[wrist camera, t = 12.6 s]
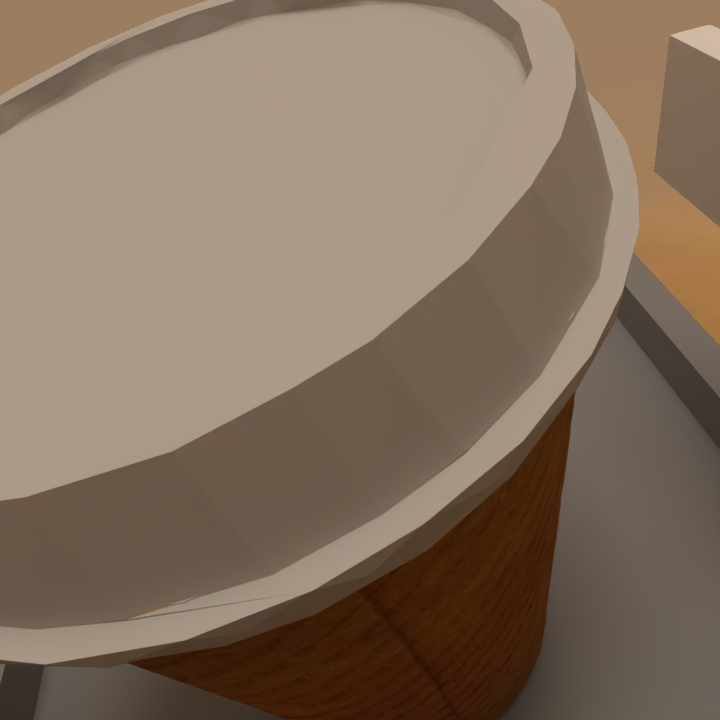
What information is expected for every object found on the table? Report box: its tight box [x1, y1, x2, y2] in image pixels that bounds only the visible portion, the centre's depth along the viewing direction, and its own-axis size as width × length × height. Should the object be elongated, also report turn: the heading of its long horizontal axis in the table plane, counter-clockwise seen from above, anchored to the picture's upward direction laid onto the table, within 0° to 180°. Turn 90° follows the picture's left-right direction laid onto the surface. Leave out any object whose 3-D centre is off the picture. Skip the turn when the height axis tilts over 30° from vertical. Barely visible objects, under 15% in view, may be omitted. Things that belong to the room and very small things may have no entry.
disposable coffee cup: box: [0, 0, 639, 720], centre depth 11 cm, size 10×10×12 cm
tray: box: [0, 253, 720, 720], centre depth 17 cm, size 20×19×3 cm
